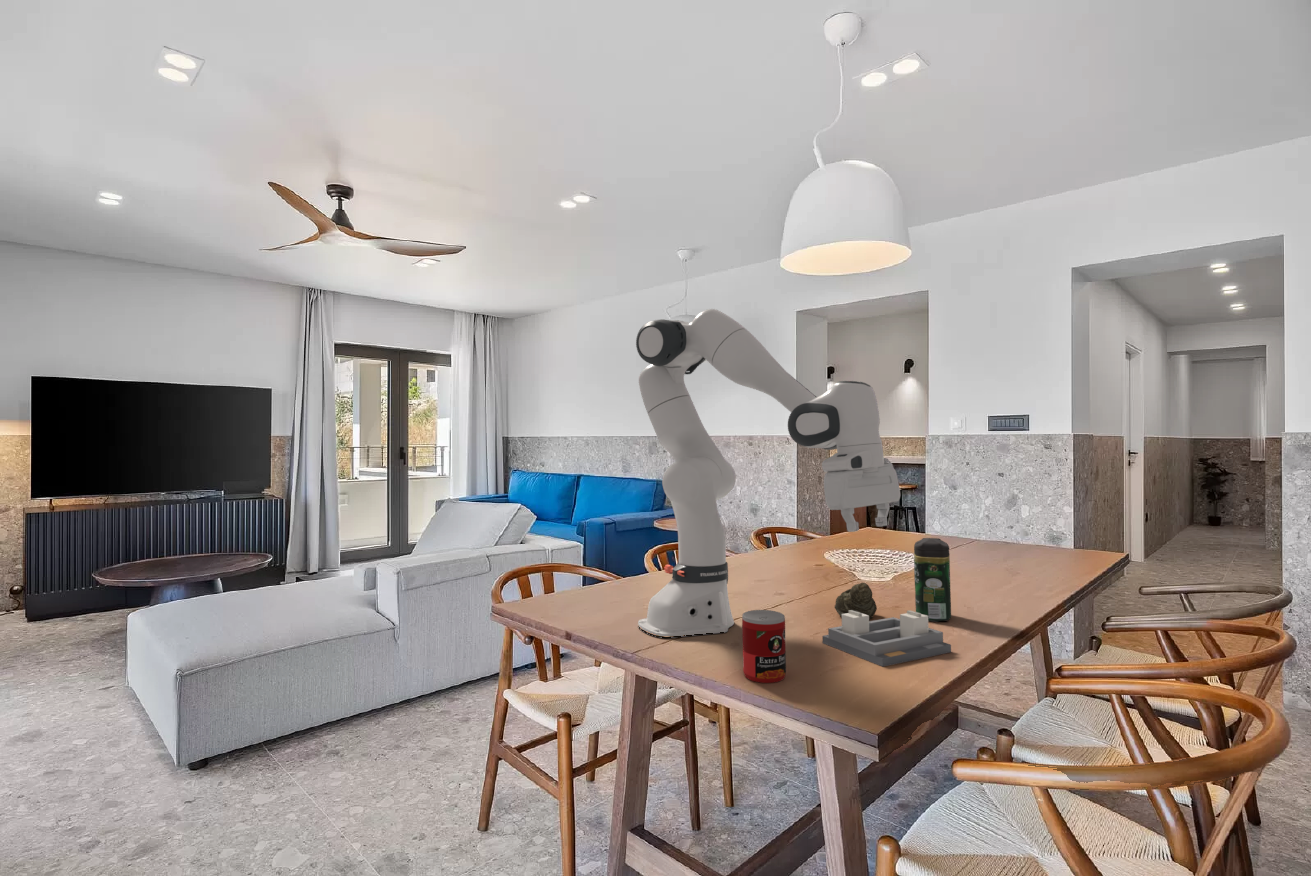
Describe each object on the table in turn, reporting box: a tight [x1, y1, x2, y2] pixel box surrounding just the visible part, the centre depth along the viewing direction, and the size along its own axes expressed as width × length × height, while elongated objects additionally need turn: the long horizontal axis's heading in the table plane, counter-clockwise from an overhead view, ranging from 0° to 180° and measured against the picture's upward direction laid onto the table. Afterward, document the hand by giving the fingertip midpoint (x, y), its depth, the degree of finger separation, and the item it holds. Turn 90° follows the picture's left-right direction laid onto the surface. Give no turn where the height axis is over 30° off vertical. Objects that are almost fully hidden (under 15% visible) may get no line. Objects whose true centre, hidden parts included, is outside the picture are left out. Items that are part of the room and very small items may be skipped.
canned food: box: [741, 609, 787, 684], centre depth 122 cm, size 8×8×11 cm
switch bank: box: [821, 616, 952, 667], centre depth 137 cm, size 18×17×4 cm
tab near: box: [899, 610, 929, 638], centre depth 136 cm, size 4×4×6 cm
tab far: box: [841, 610, 870, 635], centre depth 137 cm, size 4×4×6 cm
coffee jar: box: [913, 537, 952, 623], centre depth 159 cm, size 10×8×19 cm
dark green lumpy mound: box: [834, 582, 878, 619], centre depth 162 cm, size 11×12×10 cm
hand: (867, 528), depth 135 cm, fingers open, 8 cm apart
